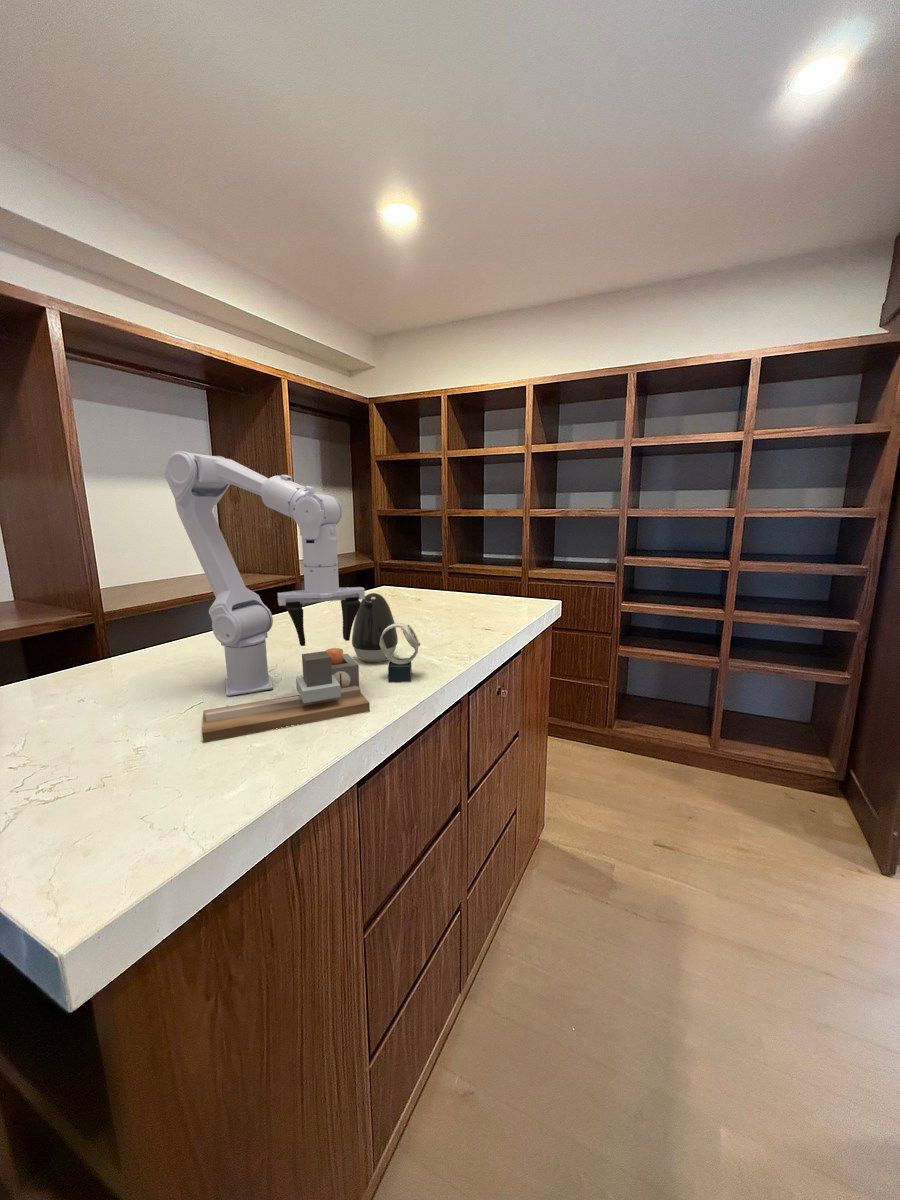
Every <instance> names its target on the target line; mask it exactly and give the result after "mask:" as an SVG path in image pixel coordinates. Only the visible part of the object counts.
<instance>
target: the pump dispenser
mask: <svg viewBox="0 0 900 1200" xmlns="http://www.w3.org/2000/svg"><path fill="white" fill-rule="evenodd" d="M395 623H396V622H395V619H394V616H393V612H392V610H391V608H390V605H389V603H388V602H387V600H386V598H385V597H384V596H383V595H382V594H380V593H376V592H372V593H368V594H365V599H361V601H360V608H359V610H358V612H357V614H356V616H355V619H354V622H353V625H352V635H351V646H352V647H353V649H354V652H355V655H356V656H357V657H358V658H359V659H360V660H362V661H365V662H366V663H380V662H384V661H388V660H387V659H386V657H385V656H384V654H383V653H382V651H381V648H380V638H381V635H382V633H383V631H384V630H385V629H386V628H387V627H388V626H390V625H391V624H395ZM397 632H398V631H397V627H396V628H392V629H389V630H388V631H386V632H385V634H384V635H383V638H382V639H384V643H385V646H386V648H387V650H388V651H389V653H390V654H391V655H392V656H393V654H394V653H395V651H396V648H397V645H398V642H399V641H398V633H397Z"/></svg>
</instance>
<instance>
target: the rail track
mask: <svg viewBox="0 0 900 1200" xmlns="http://www.w3.org/2000/svg"><path fill="white" fill-rule="evenodd" d="M370 711H371V709H370V702H369V701H368V699H367V698H366V697H365V695H364V694H363V693H362V692H361V688H360V686H359V687H358V686H350V687H343V688H341V697H337V698H331V699H325V700H320V701H314V702H308V703H303V701H302V699H301V697H300V695H299V694H295V695H289V696H282V697H278V698H271V699H265V700H264V699H263V700H259V701H251V702H246V703H239V704H234V705H228V706H221V707H215V708H210V709H204V710H203V711H202V712H203V714H202V727H201V728H202V731H201V734H202V742H203V743H202V744H204V743H209V742H215V741H219V740H224V739H229V738H236V737H240V736H245V735H250V734H255V733H256V734H257V733H262V732H266V731H267V730H268V731H272V729H273V730H277V729H276V728H278V729H282V728H281V727H283V728H287V727H286V726H289V727H292V726H291V725H294V726H298V725H297V724H299V725H304V724H303V723H305V724H309V723H310V724H311V723H314V722H321V721H324V720H331V719H335V718H341V717H347V716H350V715H351V716H352V715H356V714H362V713H368V712H370Z"/></svg>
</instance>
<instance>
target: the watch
mask: <svg viewBox="0 0 900 1200" xmlns="http://www.w3.org/2000/svg"><path fill="white" fill-rule="evenodd" d="M392 628H396V629H397V628H400V629H401V631H402V632H403V633H402V634H403V635H404V637H405V639H406V642H408V643H407V644H409V645H410V647H411V648H413V649H414V652H413V654H412V655H411V656H409V657H406V658H405V657H404V658H403V657H402V658H398V657H397V658H394V657H393V655H391V654H390V653H389V651H388V650H387V648H386V646H385V643H384V639H382V638H383V635H384V634H385V632H386V631H388V630H389V629H392ZM419 647H421V642H420V640H419V638H418V636H417V634H416V632H415V631H414V629H413V628H412V626H410V625H409V624H407V625H406V624H405V623H402V622H400V623H399V622H395V624H391V625H390V626H388V627H387V628H386V629H385V630H384V631H383V633H382V635H381V638H380V648H381V651H382V653H383V654H384V656H385V657H386V659H387V660H386V661H387V662H388V666H387V671H388V673H387V674H388V675H387V676H388V683H411V681H412V673H413V672H412V661H414V659H415V658H416V657H417V654H418V653H419Z"/></svg>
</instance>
